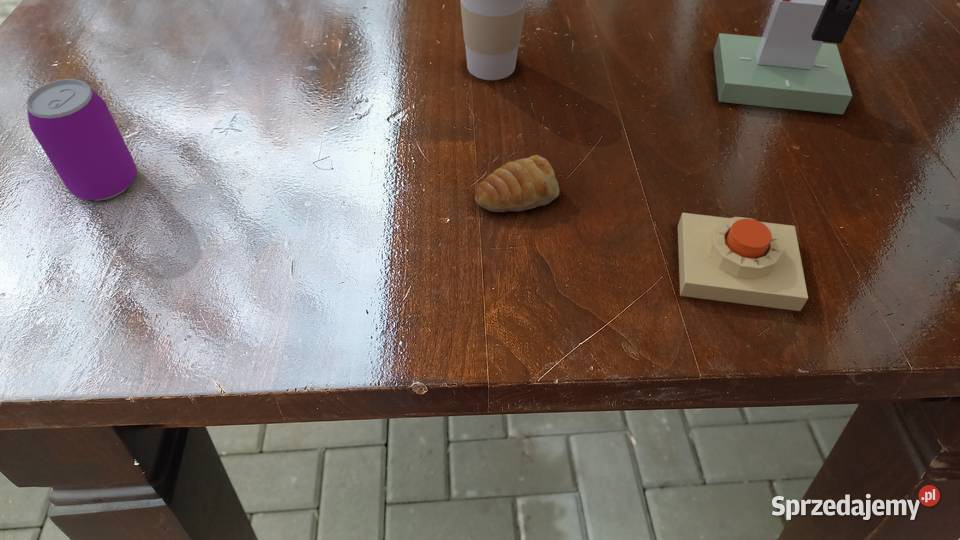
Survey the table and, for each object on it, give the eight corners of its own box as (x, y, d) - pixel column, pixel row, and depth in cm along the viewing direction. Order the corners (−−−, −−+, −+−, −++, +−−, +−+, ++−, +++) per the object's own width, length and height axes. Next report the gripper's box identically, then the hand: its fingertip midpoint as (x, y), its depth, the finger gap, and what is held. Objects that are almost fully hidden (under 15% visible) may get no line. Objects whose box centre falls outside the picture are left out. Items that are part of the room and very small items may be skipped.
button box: (787, 239, 76) (801, 213, 73) (800, 311, 70) (815, 286, 67) (677, 226, 77) (686, 200, 74) (680, 296, 71) (689, 271, 68)
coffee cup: (534, 58, 98) (543, -47, 86) (506, 92, 93) (511, -15, 81) (477, 41, 100) (478, -63, 89) (447, 73, 95) (444, -33, 84)
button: (764, 232, 72) (769, 220, 71) (768, 261, 69) (774, 249, 68) (724, 227, 72) (729, 216, 71) (727, 256, 70) (732, 244, 68)
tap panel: (828, 62, 98) (837, 42, 96) (843, 114, 90) (853, 94, 88) (713, 51, 100) (719, 31, 97) (718, 102, 92) (725, 81, 89)
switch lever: (808, 60, 93) (836, -5, 86) (811, 69, 92) (839, 4, 85) (755, 55, 94) (778, -10, 87) (756, 64, 92) (780, -1, 85)
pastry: (491, 227, 77) (492, 202, 74) (464, 190, 81) (463, 165, 78) (563, 200, 80) (566, 176, 77) (533, 166, 83) (535, 141, 81)
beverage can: (116, 210, 78) (68, 125, 69) (55, 198, 79) (1, 112, 70) (152, 166, 83) (112, 80, 73) (95, 155, 84) (49, 70, 74)
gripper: (849, -288, 63) (769, -56, 79) (906, -199, 47) (792, 68, 64) (935, -282, 62) (837, -49, 79) (1022, -190, 47) (877, 78, 63)
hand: (817, 4), depth 71 cm, fingers open, 13 cm apart
